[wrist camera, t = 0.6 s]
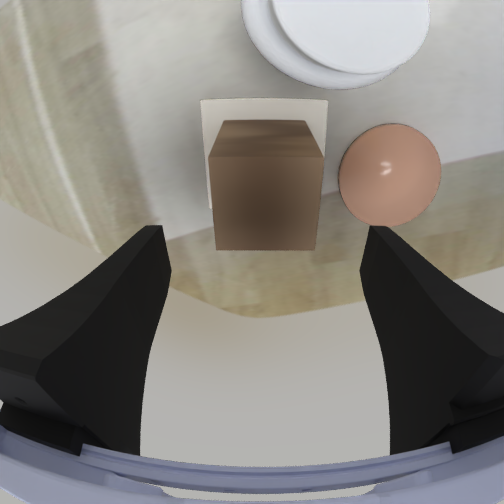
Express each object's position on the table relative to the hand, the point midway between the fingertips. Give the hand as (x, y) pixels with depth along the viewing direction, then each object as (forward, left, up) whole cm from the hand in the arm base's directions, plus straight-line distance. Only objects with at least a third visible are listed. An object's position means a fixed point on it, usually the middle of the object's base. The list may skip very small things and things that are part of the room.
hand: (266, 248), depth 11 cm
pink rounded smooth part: (-8, +1, -9) cm, 12 cm away
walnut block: (0, 0, -9) cm, 9 cm away
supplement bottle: (-2, -8, -9) cm, 12 cm away
